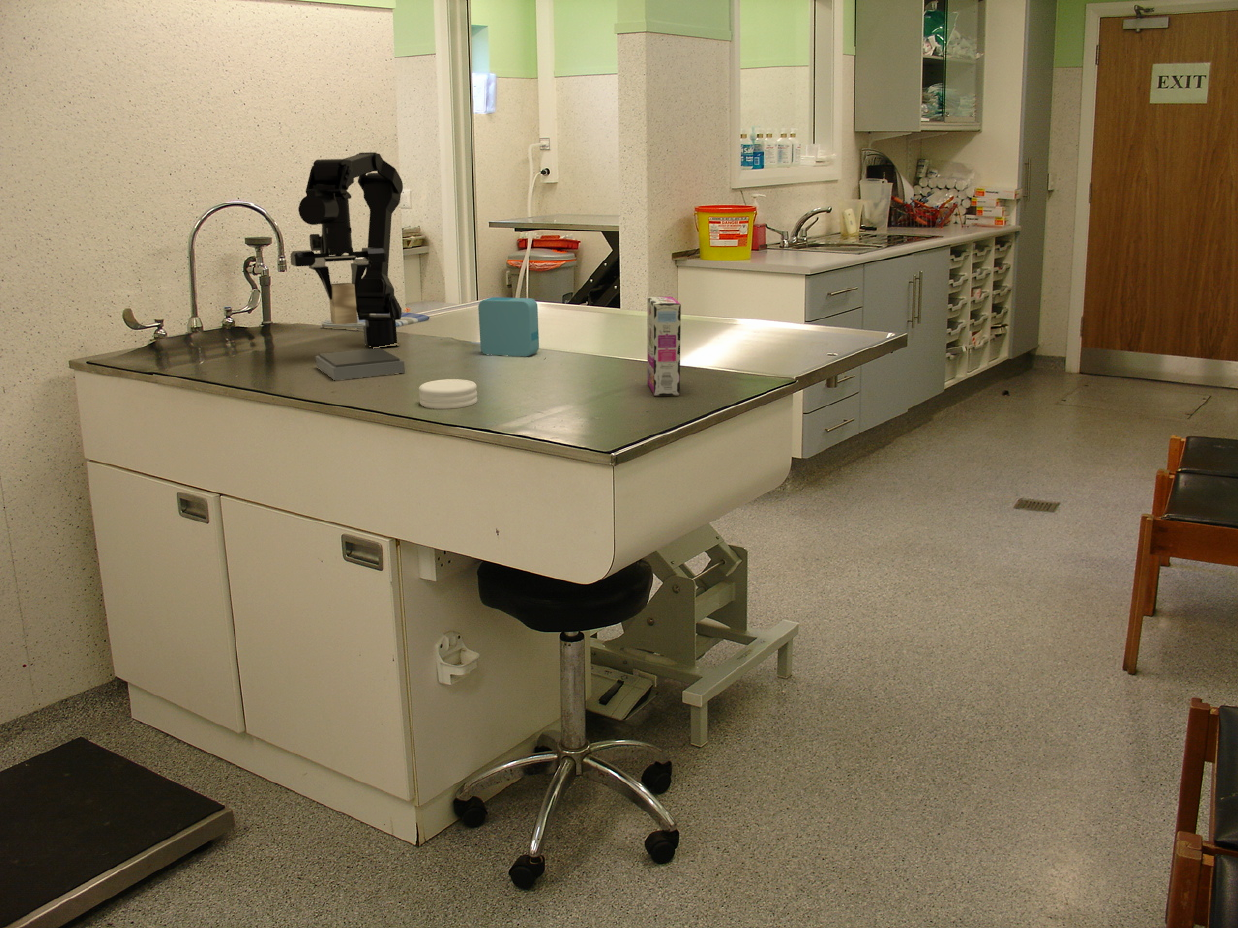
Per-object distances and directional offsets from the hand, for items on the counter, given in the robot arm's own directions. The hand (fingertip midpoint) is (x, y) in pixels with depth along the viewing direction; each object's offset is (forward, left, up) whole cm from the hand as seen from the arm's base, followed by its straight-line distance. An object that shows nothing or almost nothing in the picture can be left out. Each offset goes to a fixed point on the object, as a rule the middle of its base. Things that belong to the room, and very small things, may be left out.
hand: (342, 298), depth 227 cm
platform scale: (+1, +13, -13) cm, 18 cm away
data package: (-32, +12, -14) cm, 37 cm away
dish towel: (-19, -49, -14) cm, 55 cm away
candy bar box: (-42, +62, -13) cm, 76 cm away
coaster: (-5, +51, -14) cm, 53 cm away
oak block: (0, 0, -5) cm, 5 cm away
